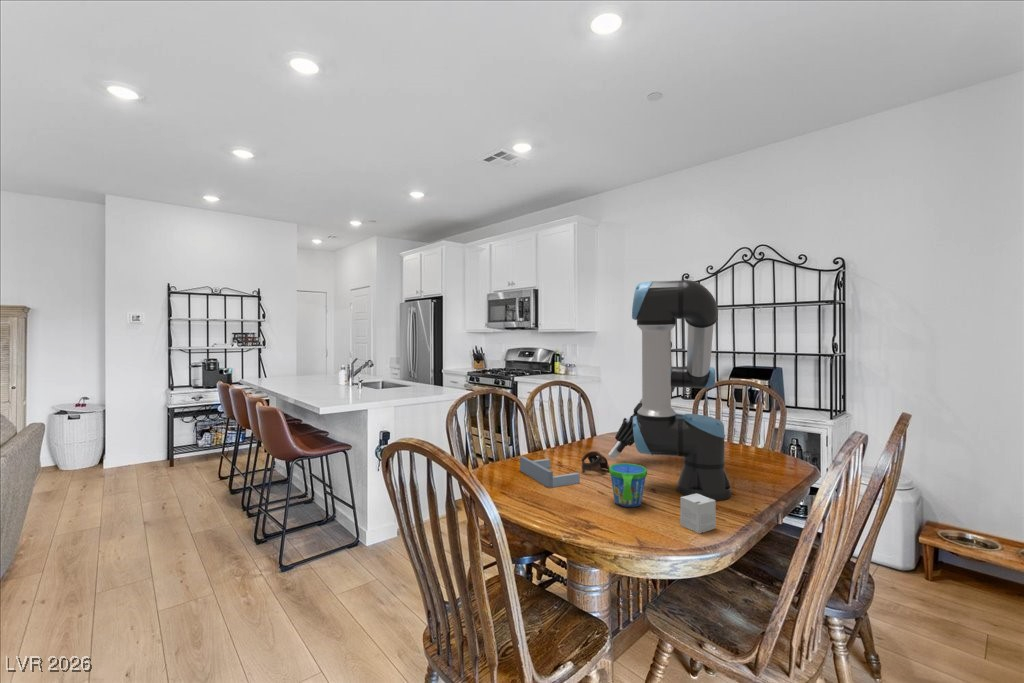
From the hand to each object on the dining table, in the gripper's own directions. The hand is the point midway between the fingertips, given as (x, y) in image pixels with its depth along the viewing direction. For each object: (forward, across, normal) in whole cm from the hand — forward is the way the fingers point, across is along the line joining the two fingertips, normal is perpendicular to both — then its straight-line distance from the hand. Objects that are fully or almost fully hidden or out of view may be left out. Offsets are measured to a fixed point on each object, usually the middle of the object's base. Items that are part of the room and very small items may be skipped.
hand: (611, 457), depth 173 cm
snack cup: (+15, -32, +10) cm, 37 cm away
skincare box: (+12, -54, +6) cm, 55 cm away
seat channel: (+21, 0, +16) cm, 26 cm away
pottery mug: (+8, -1, +3) cm, 9 cm away
